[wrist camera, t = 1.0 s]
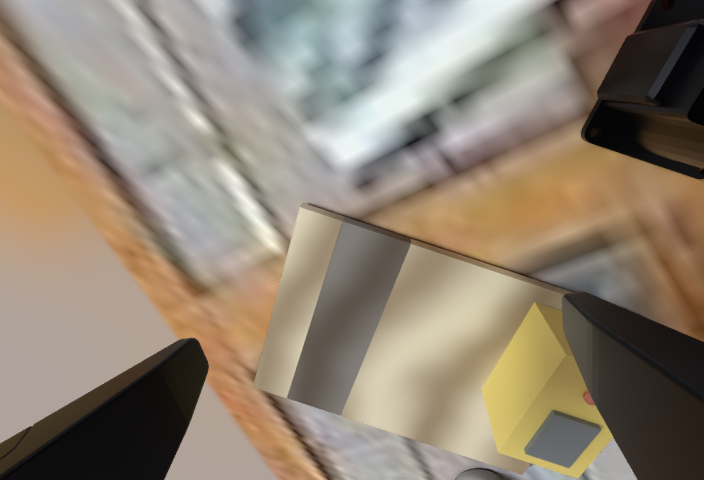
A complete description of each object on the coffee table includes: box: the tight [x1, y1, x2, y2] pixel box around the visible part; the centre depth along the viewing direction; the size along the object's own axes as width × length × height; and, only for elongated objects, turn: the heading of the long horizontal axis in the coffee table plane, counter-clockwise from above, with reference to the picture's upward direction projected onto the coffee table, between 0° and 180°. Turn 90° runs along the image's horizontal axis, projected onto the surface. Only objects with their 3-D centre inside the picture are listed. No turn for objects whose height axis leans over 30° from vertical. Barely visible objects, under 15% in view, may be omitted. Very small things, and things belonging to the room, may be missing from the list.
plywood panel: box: [253, 203, 574, 475], centre depth 24 cm, size 20×14×1 cm
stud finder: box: [481, 302, 613, 478], centre depth 21 cm, size 4×7×5 cm, turn 163°
